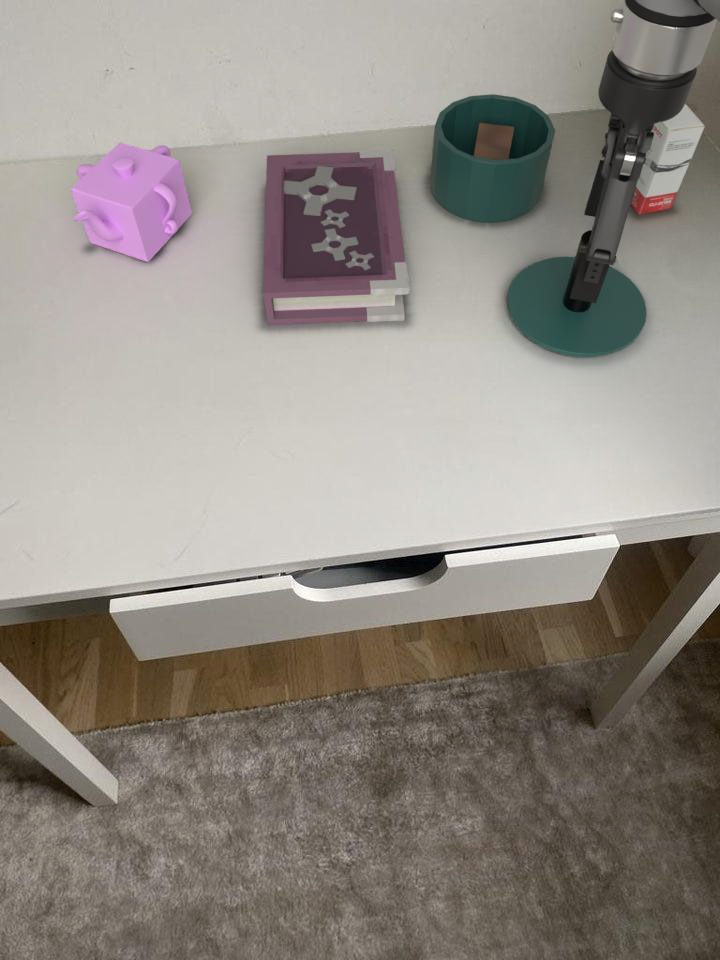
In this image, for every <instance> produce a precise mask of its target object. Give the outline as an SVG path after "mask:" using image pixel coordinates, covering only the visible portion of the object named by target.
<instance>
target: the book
mask: <svg viewBox="0 0 720 960" xmlns="http://www.w3.org/2000/svg"><path fill="white" fill-rule="evenodd" d="M394 156H395V155H394V149H373V150H359V151H354V152H351V151H349V152H327V153H322V152H321V153H297V154H270V155H266V171H265V172H266V177H265V179H266V180H265V210H264V241H263V242H264V243H263V245H264V247H263V274H262V275H263V279H262V297H263V303H264V310H265V317H266V323H267V326H268V325H269V326H273V325H275V326H276V325H296V324H297V325H298V324H299V325H300V324H323V323H326V324H327V323H346V322H347V323H348V322H367V323H373V322H374V323H376V322H378V323H379V322H402V321H405V318H406V317H405V314H406V313H405V307H404V306H405V305H404V296H403V295H410V281H409V272H408V265H407V264H408V263H407V261H406V257H405V249H404V242H403V241H404V240H403V233H402V226H401V224H402V223H401V216H400V208H399V200H398V191H397V182H396V165H395V157H394Z"/></svg>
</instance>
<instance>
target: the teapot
mask: <svg viewBox="0 0 720 960" xmlns="http://www.w3.org/2000/svg"><path fill="white" fill-rule="evenodd" d="M171 156H172V154H171V149H170V148H169V147H168V146H167V145H163V144H162V145H157V146H155V147H154V148H153V149H151V150H148V149H145V148H141V147H138V146H134V145H131V144H127V143H124V142H122V141H120V142H119V143H118V144H117V145H115V146H114V147H113V148H112V149H111V150H110V151H109V152H108V153H107V154H105V155H104V156H103V157H102V158H101V159H100V160H99V161H98V162H97V163H96V164H89V163H85V164H80V165H78V166H77V168H76V175H77V177H78V179H79V180H78V181H77V182H76V183H75V184H74V185H73V186H72V187H71V188H70V192H71V195H72V197H73V200H74V203H75V206H76V208H77V211H78V213H76V214H75V216H74V217H73V221H74V222H75V223H79V222H82V224H83V226H84V230H85V232H86V235H87V237H88V240H89V242H90V244H92V245H96V246H99V247H102V248H105V249H108V250H111V251H114V252H117V253H120V254H123V255H125V256H129V257H131V258H134V259H137V260H140V261H143V262H146V263H149V262H150V261H151V260H152V259H153V258H154V257H155V255H156V254H158V252H159V251H160V250H161V249H162V247H164V245H166V243H167V242H168V241H169V240H170V239H171V238H172V237H173V235H175V234H176V233H177V232H178V230H179V229H180V228H181V227H182V226H183V224H184V223H185V222H186V221H187V220H188V219H189V218H190V217H191V215H193V212H192V208H191V203H190V199H189V195H188V189H187V186H186V181H185V177H184V172H183V167H182V164H181V160H180V159H178V158H175V157H171Z"/></svg>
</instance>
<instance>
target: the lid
mask: <svg viewBox="0 0 720 960" xmlns="http://www.w3.org/2000/svg"><path fill="white" fill-rule="evenodd" d="M591 232H592V229H589V230H586V231H585V232H584V233H582V235H581V237H580V240H579V243H578V247H577V250H576V254H575V256H556V257H549V258H544V259H541V260H538V261H536V262H534V263H531V264H530V265H528V266H526V267H524V268H523V269H522V270H521V271H519V273H517V275H516V276H515V277H514V279H512V282H511V283H510V286H509V287H508V292H507V299H506V302H507V303H506V305H507V311H508V313H509V316H510V319H511V321H512V322H513V324H514V325H515V327H516V328H517V329H518V330H519V331H520V333H522V334H523V335H524V336H525V338H528V339H529V340H530V341H531V342H533V344H536V345H537V346H539V347H542V348H543V349H546V350H548V351H551V352H552V353H556V354H559V355H564V356H567V357H568V356H569V357H576V358H597V357H603V356H607V355H611V354H614V353H617V352H619V351H622V350H624V349H625V348H627V347H628V346H630V344H632V343H633V342H635V341H636V339H638V337H639V336H640V334H641V332H642V331H643V328H644V326H645V325H646V321H647V305H646V302H645V299H644V296H643V294H642V293H641V292H642V291H640V289H639V288H638V287H637V285H636V284H635V283H634V282H633V281H632V280H631V279H630V278H629V277H627V276H626V275H625V274H624V273H623V272H621V271H619V270H618V269H616V268H615V267H613V266H611V265H609V268H608V271H607V274H606V277H605V280H604V282H603V285H602V288H601V291H600V294H599V296H598V299H597V302H596V303H592V302H587V301H581V300H576V299H570V294H571V291H572V287H573V284H574V281H575V278H576V275H577V271H578V268H579V265H580V262H581V259H582V255H583V253H581V252H579V247H580V246H586V243H587V244H588V243H589V240H590V236H591Z"/></svg>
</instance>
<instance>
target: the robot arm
mask: <svg viewBox="0 0 720 960" xmlns="http://www.w3.org/2000/svg"><path fill="white" fill-rule="evenodd" d="M610 20H611V22H613V23H615V24H616V27H615V31H614V35H613V38H612V42H611V50H610V51H609V53H608V54H607V57H606V60H605V65H604V68H603V72H602V75H601V80H600V83H599V87H598V92H597V93H598V98H599V101H600V104H601V105H602V106H603V108H604V109H605V110H606V111H608V112H609V113H610V117H609V120H608V124H607V127H608V129H607V132H605V134H604V139H605V140H604V142H605V143H604V146H603V148H602V149H601V158H603V159H599V161H598V164H597V168H596V172H595V174H594V179H593V182H592V186H591V187H590V188H591V189H590V192H589V195H588V199H587V202H586V206H585V209H584V214H583V215H584V216H587V217H593V218H594V221H593V224H592V227H591V230H592V232H591V236H590V240H589V243H588V244H587V243H586V246H580V247H579V246H578V247H579V252H581V253H583V255H582V259H581V262H580V265H579V268H578V271H577V275H576V278H575V281H574V284H573V287H572V291H571V294H570V299H576V300H581V301H587V302H592V303H596V302H597V299H598V296H599V294H600V291H601V288H602V285H603V282H604V280H605V277H606V274H607V271H608V268H609V266H613V265H615V262H616V260H617V253H618V249H619V247H620V242H621V239H622V237H623V236H622V235H623V233H624V229H625V225H626V221H627V218H628V215H629V212H630V208H631V206H632V205H631V202H632V198H633V195H634V191H635V188H636V184H637V181H638V179H639V177H640V174H641V171H642V167H643V164H645V161H646V158H645V157H646V153H647V151H648V150H649V149H650V147H651V144H652V140H653V137H654V132H651V131H652V129H653V126H654V124H656V123H659V122H664V121H667V120H669V119H671V118H673V117H675V116H676V115H677V114H679V113H680V111H681V110H682V109H683V107H684V105H685V104H686V102H687V99H688V97H689V94H690V91H691V89H692V86H693V84H694V80H695V78H696V76H697V72H698V70H697V68H698V66H699V65H701V63H702V61H703V58H704V57H705V54H706V51H707V48H708V45H709V43H710V40H711V38H712V35H713V32H714V30H715V26H716V25H717V22H719V23H720V0H623V1H622V8H614V9H613V10H612V11H611V14H610Z"/></svg>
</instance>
